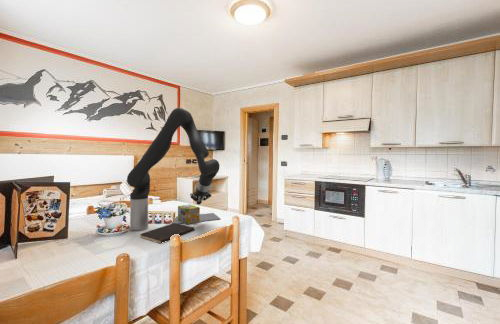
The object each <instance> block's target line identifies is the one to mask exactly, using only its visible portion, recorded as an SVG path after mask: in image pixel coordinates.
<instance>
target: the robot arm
mask: <svg viewBox="0 0 500 324" xmlns="http://www.w3.org/2000/svg"><path fill="white" fill-rule="evenodd" d="M179 127H181V128H183V130H184V132H185V133H186V135H187V137H188V141H189V142H188V143H189V145H190V146H189V147H190V148H191V150H192V152H193V154H194V156H195V158H196V160H197V161H196V162H197V165H198V171H199V173H200V175H199V178H198V181H197V183H196V188H195V191H194V193H190V194H189V195H190V199H192V200H193V201H194V202H195V203H196V205H201V204H202V202H203V201H204V202H205V201H206V200H208V199H210V198H211V197H212V193H211V192H210V189H211V187H212V183H213V179H214V178H215V177H216V176H217V174H218V172H219V170H220V162H219V161H218V160H217V159H215V158H214V159H213V158H212V159H209V160H206V161H205V159H206V158H208V156H210V155H209V154H210V153H209V150H208V148H207V147H206V145H205V143H204V141H203V140H202V138H201V136H200V133H199V131H198V129H197V126H196V124H195V121H194V117H193V115H192V113H191V112H190V111H188V110H186V109H184V108H182V107H176V108H174V109H173V110H172V111H171V112H170V114H169V115H168V118H167V119H166V121H165V123H164V125H163V126H162V128H161V129H160V131H159V132H158V134H157V135H156V137H155V138H154V140H153V141H152V142H151V144H150V145H149V146H148V148H147V150H146V151H145V153H144V154H143V155H142V156H141V158H140V160H139V161H138V163H136V165H135V166H134V167H133V168H132V169H131V171H129V173H128V174H127V178H126V182H127V184H128V186H130V187H132V188H133V191H132V192H131V193H130V194H129V196H130V198H129V207H130V208H129V209H130V211H129V217H130V219H129V223H130V228H129V229H130V231H142V230H143V231H144V230H146V229H148V228H149V194H150V190H151V176H150V173H149V171H150V170H151V169H152V168H153V167H154V166H155V165H157V164H158V163H159V162H160V161H161V160H162V159H164V158H165V156H166V154H168V152H169V150H170V148H171V147H172V140H173V137H174V134H175V133H176V131H178V129H179Z"/></svg>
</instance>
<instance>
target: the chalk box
mask: <svg viewBox="0 0 500 324" xmlns="http://www.w3.org/2000/svg"><path fill="white" fill-rule="evenodd" d="M200 211H201V210H200V207H199V206H196V205H193V204H184V205H178V206H177V216H178V220H179V221H182V222H184V223H186V224H185V225H189V224H194V222H195V223H200V222H199V221H200V214H201V213H200Z"/></svg>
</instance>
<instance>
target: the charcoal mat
mask: <svg viewBox="0 0 500 324" xmlns="http://www.w3.org/2000/svg"><path fill="white" fill-rule="evenodd" d="M175 217H176V218H175V221H174V222H172V223H171V224H173V223H177V224H181V225H187V224H186V223H184V222H182V221H179V220H178V215H177V216H175ZM220 220H222V219H221V217H219V216H218V215H217V214H215V213H214V212H209V213H200V221H199V222H198V223H202V222H213V221H220ZM194 223H196V222H194ZM194 223H193V224H194Z"/></svg>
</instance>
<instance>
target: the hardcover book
mask: <svg viewBox="0 0 500 324" xmlns="http://www.w3.org/2000/svg"><path fill="white" fill-rule="evenodd" d="M192 232H195V227H194V226H190V225H187V224H177V223H173V224H172V223H170V224H166V225H164V226H160V227H158V228H154V229H152V230H149V231H146V232H142V233H139V236H140V238H142V239H144V240H147V239H148V241H151V240H152V241H151V242H154V241H156V242H155V243H157V242H160V243H159V244H161V243H162V242H164V243H166V242H165V241H167V242H170V241H171V240H170V237H171V236H172V235H174V234H179V235H180V237H181V236H185V235H186V234H189V233H192ZM169 240H170V241H169ZM162 244H163V243H162Z"/></svg>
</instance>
